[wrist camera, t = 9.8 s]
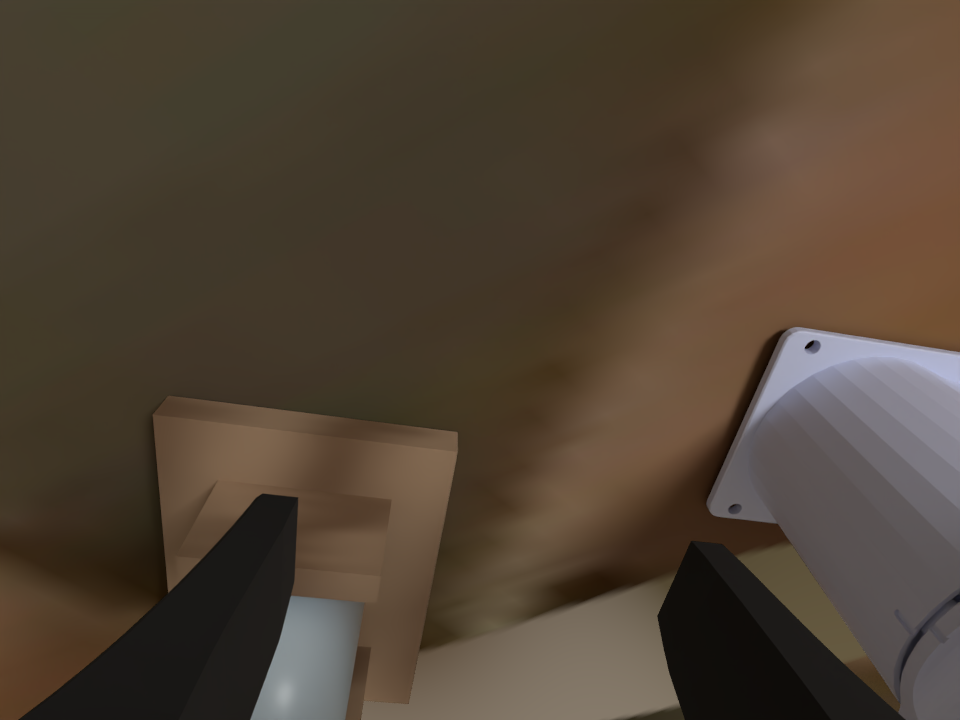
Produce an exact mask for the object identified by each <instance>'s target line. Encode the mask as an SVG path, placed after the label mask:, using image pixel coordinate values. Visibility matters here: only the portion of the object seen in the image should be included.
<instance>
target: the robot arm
mask: <svg viewBox="0 0 960 720" xmlns="http://www.w3.org/2000/svg"><path fill="white" fill-rule="evenodd" d="M812 340H814V344H813V345H812V346H811V347H810V348H808V349H805V346H806V345H807V343H808V342H810V341H812ZM733 504H736V505H735V506H733V507H730V506H731V505H733ZM706 505H707V507H708V509H709V511H710V513H711V514H712V515H714V516H717V517H724V518H733V519H742V520H750V521H759V522H767V523H776V524H778V525H779V526H780V528H781V529H782V531H783V532H784V534H785V535H786V537H787V538H788V539H789V541H790V542H791V544H792V545H793V547H794V548H795V550H796V551H797V553H798V554H799V556H800V557H801V559H802V560H803V562H804V563H805V564H806V566H807V567H808V569H809V570H810V572H811V573H812V575H813V576H814V577H815V579H816V581H817V582H818V584H819V585H820V586H821V588H822V590H823V591H824V592H825V594H826V595H827V597H828V598H829V600H830V601H831V603H832V604H833V606H834V607H835V609H836V610H837V612H838V613H839V614H840V616H841V617H842V619H843V620H844V622H845V623H846V625H847V626H848V628H849V629H850V631H851V632H852V634H853V635H854V637H855V638H856V639H857V641H858V642H859V644H860V645H861V647H862V648H863V650H864V651H865V653H866V654H867V656H868V657H869V659H870V660H871V662H872V663H873V665H874V666H875V668H876V669H877V671H878V672H879V673H880V675H881V676H882V678H883V679H884V681H885V682H886V684H887V685H888V687H889V688H890V690H891V691H892V693H893V694H894V696H895V697H896V698H897V700H898V701H899V703H900V704H901V706H900V709H899V712H898V713H897V712H896V711H895V710H894V709H893V708H892V707H891V706H889V705H888V704H887V703H886V702H885V701H884V700H883V699H882V698H881V697H879V696H878V695H877V694H876V693H875V692H874V691H873V690H872V689H871V688H870V687H868V686H867V685H866V684H865V683H864V682H863V681H862V680H861V679H860V678H859V677H857V676H856V675H855V674H854V673H853V672H852V671H851V670H850V669H849V668H848V667H847V666H846V665H845V664H843V663H842V662H841V661H840V660H839V659H838V658H837V657H836V656H835V655H834V654H833V653H832V652H831V651H830V650H829V649H828V648H827V647H826V646H824V645H823V643H821V641H819V640H818V639H817V638H816V637H815V636H814V635H813V634H812V633H811V632H810V631H809V630H808V629H807V628H806V627H805V626H804V625H803V624H802V623H801V622H800V621H799V620H798V619H797V618H796V617H795V616H794V615H793V614H792V613H791V612H790V611H789V610H788V609H787V608H786V607H785V606H784V605H783V604H782V603H781V602H780V601H779V600H778V599H777V598H776V597H775V596H774V595H773V594H772V593H771V592H770V591H769V590H768V589H767V588H766V587H765V586H764V585H763V583H761V581H759V579H758V578H757V577H755V575H754V574H753V573H752V572H751V571H750V570H748V568H746V566H745V565H744V564H743V563H742V562H741V561H739V560H738V559H737V558H736V557H735V556H734V555H733V554H732V553H731V552H730V551H729V550H728V549H727V548H726V547H725V546H724V545H722V544H715V543H706V542H697V541H691V543H690V545H689V547H688V549H687V552H686V554H685V556H684V558H683V560H682V563H681V565H680V567H679V569H678V572H677V574H676V576H675V578H674V581H673V583H672V585H671V587H670V589H669V592H668V594H667V596H666V598H665V600H664V603H663V605H662V607H661V609H660V611H659V614H658V621H659V626H660V632H661V637H662V642H663V647H664V652H665V656H666V660H667V664H668V669H669V673H670V676H671V679H672V682H673V685H674V689H675V691H676V694H677V697H678V700H679V703H680V706H681V709H682V712H683V715H684V718H685V720H960V352H955V351H948V350H942V349H935V348H929V347H923V346H916V345H910V344H903V343H897V342H891V341H884V340H878V339H872V338H865V337H859V336H852V335H846V334H840V333H833V332H827V331H821V330H814V329H808V328H801V327H794V328H791V329H788V330H787V331H786V332H784V333H783V334H782V336H781V337H780V339H779V341H778V343H777V345H776V348H775V350H774V352H773V354H772V357H771V359H770V361H769V363H768V365H767V368H766V370H765V372H764V374H763V377H762V379H761V381H760V383H759V386H758V388H757V390H756V392H755V394H754V397H753V399H752V401H751V403H750V406H749V408H748V410H747V412H746V415H745V417H744V419H743V421H742V423H741V426H740V428H739V430H738V432H737V435H736V437H735V439H734V441H733V444H732V446H731V448H730V450H729V452H728V455H727V457H726V459H725V461H724V464H723V466H722V468H721V470H720V472H719V475H718V477H717V479H716V481H715V484H714V486H713V488H712V490H711V493H710V495H709V497H708V499H707V503H706ZM297 517H298V497H290V496H281V495H272V494H263V493H262V494H261V495H259V496H258V497H256V498H255V499H254V501H253V502H252V503H251V504H250V506H249V507H248V508H247V509H246V510H245V512H244V513H243V514H242V515H241V516H240V517H239V519H238V520H237V521H236V522H235V523H234V524H233V526H232V527H231V528H230V529H229V530H228V531H227V532H226V533H225V535H224V536H223V537H222V538H221V539H220V540H219V541H218V542H217V543H216V544H215V545H214V547H213V548H212V549H211V550H210V551H209V552H208V553H207V554H206V555H205V556H204V557H203V558H202V559H201V560H200V561H199V562H198V563H197V564H196V565H195V566H194V567H193V568H192V569H191V571H190V572H189V573H188V574H187V575H186V576H185V577H184V578H183V579H182V580H181V581H180V582H179V583H178V584H177V585H176V586H175V587H174V588H173V589H172V590H171V591H170V592H169V593H168V594H167V595H166V596H165V597H163V598H162V599H161V600H160V601H159V602H158V603H157V604H156V605H155V606H154V607H153V608H152V609H151V610H149V611H148V612H147V613H146V614H145V615H144V616H143V617H142V618H141V619H140V620H139V621H138V622H137V623H136V624H134V625H133V626H132V627H131V628H130V629H129V630H128V631H127V632H126V633H125V634H124V635H122V636H121V637H120V638H119V639H118V640H117V641H116V642H114V643H113V644H112V645H111V646H110V647H109V648H108V649H106V650H105V651H104V652H103V653H102V654H101V655H99V656H98V657H97V658H96V659H95V660H94V661H92V662H91V663H90V664H89V665H88V666H86V667H85V668H84V669H83V670H81V671H80V672H79V673H78V674H77V675H75V676H74V677H73V678H72V679H70V680H69V681H68V682H67V683H65V684H64V685H63V686H62V687H61V688H59V689H58V690H57V691H56V692H54V693H53V694H52V695H50V696H49V697H48V698H46V699H45V700H44V701H43V702H41V703H40V704H39V705H37V706H36V707H35V708H33V709H32V710H31V711H29V712H28V713H27V714H25V715H24V716H23V717H21V718H20V719H19V720H250V719H251V717H252V714H253V711H254V708H255V706H256V703H257V700H258V698H259V695H260V692H261V689H262V687H263V684H264V681H265V679H266V676H267V673H268V670H269V668H270V665H271V662H272V659H273V657H274V654H275V651H276V648H277V646H278V643H279V640H280V636H281V633H282V629H283V625H284V621H285V617H286V613H287V609H288V605H289V601H290V597H291V593H292V589H293V585H294V580H295V559H296V538H297Z"/></svg>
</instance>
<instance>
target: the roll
mask: <svg viewBox="0 0 960 720" xmlns="http://www.w3.org/2000/svg"><path fill="white" fill-rule="evenodd" d="M364 604H365V602H354V601H343V600H333V599H322V598H311V597H300V596H291V597H290V601H289V605H288V609H287V613H286V617H285V621H284V625H283V629H282V633H281V636H280V640H279V643H278V646H277V648H276V651H275V654H274V657H273V659H272V662H271V665H270V668H269V670H268V673H267V676H266V679H265V681H264V684H263V687H262V689H261V692H260V695H259V698H258V700H257V703H256V706H255V708H254V711H253V714H252V717H251V719H250V720H345V718H346V712H347V706H348V700H349V694H350V688H351V682H352V676H353V670H354V664H355V658H356V652H357V646H358V640H359V634H360V628H361V622H362V616H363V610H364Z"/></svg>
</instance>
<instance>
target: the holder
mask: <svg viewBox="0 0 960 720" xmlns="http://www.w3.org/2000/svg"><path fill="white" fill-rule="evenodd" d="M153 424H154V435H155V447H156V458H157V470H158V481H159V493H160V504H161V516H162V527H163V538H164V550H165V561H166V573H167V584H168V593H169V592H170V591H171V590H172V589H173V588H174V587H175V586H176V585H177V584H178V583H179V582H180V581H181V580H182V579H183V578H184V577H185V576H186V575H187V574H188V573H189V572H190V571H191V569H192V568H193V567H194V566H195V565H196V564H197V563H198V562H199V561H200V560H201V559H202V558H203V557H204V556H205V555H206V554H207V553H208V552H209V551H210V550H211V549H212V548H213V547H214V545H215V544H216V543H217V542H218V541H219V540H220V539H221V538H222V537H223V536H224V535H225V533H226V532H227V531H228V530H229V529H230V528H231V527H232V526H233V524H234V523H235V522H236V521H237V520H238V519H239V517H240V516H241V515H242V514H243V513H244V512H245V510H246V509H247V508H248V507H249V506H250V504H251V503H252V502H253V501H254V499H255V498H256V497H258V496H259V495H261V494H262V493H263V494H272V495H281V496H290V497H298V517H297V538H296V559H295V580H294V585H293V589H292V593H291V596H300V597H311V598H322V599H333V600H343V601H354V602H365V604H364V610H363V616H362V622H361V628H360V634H359V640H358V646H357V652H356V658H355V664H354V670H353V676H352V682H351V688H350V694H349V700H348V706H347V712H346V718H345V720H361V715H362V708H363V701H375V702H388V703H403V704H409V699H410V694H411V689H412V684H413V679H414V674H415V668H416V664H417V658H418V653H419V648H420V643H421V638H422V633H423V628H424V622H425V617H426V612H427V607H428V602H429V597H430V592H431V587H432V581H433V576H434V571H435V566H436V561H437V556H438V551H439V546H440V540H441V535H442V530H443V525H444V520H445V515H446V510H447V505H448V499H449V494H450V489H451V484H452V479H453V474H454V469H455V463H456V458H457V453H458V432H452V431H445V430H437V429H429V428H421V427H413V426H405V425H397V424H389V423H381V422H374V421H366V420H358V419H350V418H342V417H334V416H326V415H318V414H310V413H303V412H295V411H287V410H279V409H271V408H263V407H255V406H247V405H239V404H232V403H224V402H216V401H208V400H200V399H192V398H184V397H176V396H168V397H167V398H166V399H165V400H164V402H163V403H162V404H161V405H160V406H159V408H158V409H157V410H156V411H155V412H154V414H153Z"/></svg>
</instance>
